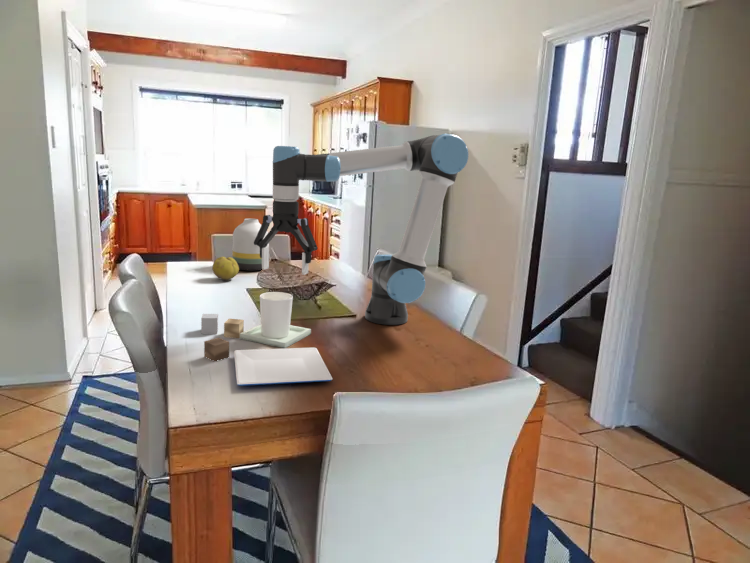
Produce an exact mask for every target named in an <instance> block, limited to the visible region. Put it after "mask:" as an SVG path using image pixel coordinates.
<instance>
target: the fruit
mask: <svg viewBox="0 0 750 563" xmlns="http://www.w3.org/2000/svg"><path fill="white" fill-rule="evenodd" d="M239 270H240V269H239V266H238V264H237V262H236V261H235V260H234V259H233V258H232V256H230V257H226V256H220V257H217V258H216V259H215V261H214V262H213V264H212V272H213V274H214V276H216V277H217V278H219V279H220V280H223V281H228V280H229V281H230V280H231V279H233V278H235V277H236V276H237V275H238V273H239Z"/></svg>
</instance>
